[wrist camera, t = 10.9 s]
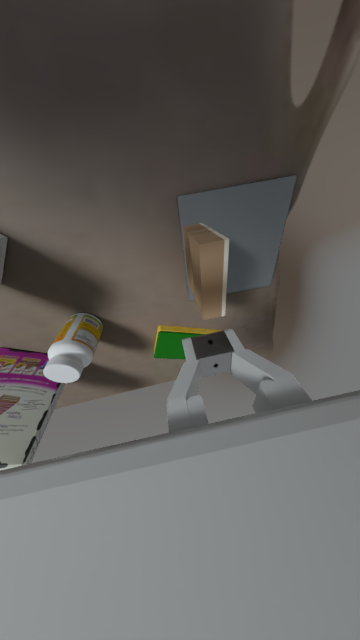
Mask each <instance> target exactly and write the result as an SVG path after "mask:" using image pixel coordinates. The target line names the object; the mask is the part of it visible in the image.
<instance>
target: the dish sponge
mask: <svg viewBox="0 0 360 640" xmlns="http://www.w3.org/2000/svg"><path fill="white" fill-rule="evenodd" d="M218 331H222V330H211V329H199V328H187V327H174V326H162V325H160V326H158V330H157V336H156V341H155V347H154V357H155V358H167V359H186V357H185V353H184V348H183V343H182V339H185V338H190V337H195V336H200V335H205V334H209V333H213V332H218Z"/></svg>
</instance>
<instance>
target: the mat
mask: <svg viewBox="0 0 360 640" xmlns="http://www.w3.org/2000/svg"><path fill="white" fill-rule="evenodd" d="M296 178H297V175H294V176H288V177H283V178H277V179H272V180H266V181H261V182H255V183H249V184H244V185H238V186H233V187H227V188H221V189H216V190H210V191H205V192H199V193H194V194H188V195H182V196H177V201H178V210H179V218H180V227H181V235H182V243H183V252H184V260H185V269H186V277H187V285H188V294H189V301H192V300H195V299H194V296H193V294H192V291H191V289H190V287H189V283H188V273H187V264H186V255H185V246H184V236H183V227H182V226H187V225H193V224H199V223H203V224H205V225H207V226H208V227H210V228H212V229H213V230H215V231H217V232H218V233H220V234H222V235H224V236H225V237H227V238H229V254H228V272H227V289H226V294H228V293H233V292H238V291H243V290H248V289H253V288H258V287H264V286H269V285H271V281H272V277H273V273H274V269H275V265H276V261H277V256H278V252H279V248H280V244H281V240H282V235H283V231H284V227H285V223H286V219H287V215H288V211H289V207H290V202H291V198H292V194H293V190H294V186H295V182H296Z"/></svg>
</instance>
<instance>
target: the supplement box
mask: <svg viewBox="0 0 360 640" xmlns="http://www.w3.org/2000/svg"><path fill="white" fill-rule="evenodd" d="M7 240H8V238H7V237H6V236H4V235H2V234H0V285H1V282H2V276H3V268H4V261H5V254H6V247H7Z"/></svg>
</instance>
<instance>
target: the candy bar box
mask: <svg viewBox="0 0 360 640" xmlns="http://www.w3.org/2000/svg"><path fill="white" fill-rule="evenodd" d="M48 361H49V358H48V354H45V353H38V352H30V351H22V350H15V349H7V348H0V470H5V469H9V468H13V467H18V466H22V465H27V464H31V462H32V459H33V457H34V454H35V452H36V450H37V447H38V445H39V443H40V440H41V438H42V436H43V434H44V431H45V429H46V427H47V424H48V422H49V420H50V417H51V415H52V413H53V411H54V408H55V406H56V404H57V401H58V399H59V397H60V394H61V392H62V390H63V387H64V385H65V383H59V382H54V381H52V380H49V379H48V378H46V377H45V376H44V374H43V370H44V368H45V366H46V364H47V362H48Z"/></svg>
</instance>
